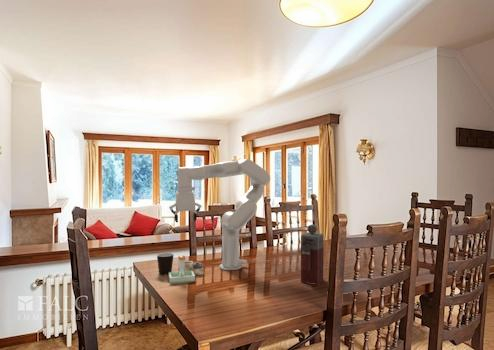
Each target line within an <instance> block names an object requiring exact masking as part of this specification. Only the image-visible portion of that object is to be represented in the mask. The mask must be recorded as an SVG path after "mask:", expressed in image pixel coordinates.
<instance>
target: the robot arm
mask: <svg viewBox="0 0 494 350" xmlns="http://www.w3.org/2000/svg"><path fill="white" fill-rule="evenodd" d="M242 175H246V176H247V177H249V182H250V184H249V185H250V186H249V189H248V190H247V191H246V192H245V193H244V194H243V195H242V197H241V198H240V199H239V200H238V201H237V202H236V203H235V211H226V212H225V213H224V214H223V215H222V216H221V219H220V220H221V221H220V225H221V238H222V239H221V241H222V243H221V251H222V252H221V258H222V259H221V264H219V266H218V267H219V269H221V270H224V271H236V270H240V269H242V267H243V264H244V265H246V264H248V260H247V259H240V232H239V231H240V230H241V229H243V227H245V225H247V223H248V222H249V221H251V219H252V218H253V217H254V215H255V214H256V213H257V211H258V205H257V203H258V202H259V201H260V199H261V198H262V197H263V194H264V191H265V190H264V189H265V188H264V187H265V186H267V185H268V184H269V183H270V182H271V176H270V174H269V172H268V171H267V170H266V169H264V168H263V167H261V166H260V165H258V163H256V162H254V161H253V160H251V159H249V158H245V159H237V160H230V161H221V162H218V163H214V164H207V165H200V166H193V167H191V166H190V167H189V166H183V167H180V166H179V167H178V168H177V191H178V192H176V195H175V203H174V204H172V205H170V206H168V209H169V210H170V212H171V213H172V214H173V215H174V221H175V222H176V223H179V215H178V214H179V213H180V212H189V211H190V212H191V211H192V212H193V214H192V218H193V222H196V221H197V218H198V217H197V216H198V213H199V212H200V211H201V208H202V205H201V204H200V203H197V202H196V201H195V193H194V192H193V191H195V189H196V187H193V181H194V180H195V181H202V180H204V179H211V178H212V179H214V178H217V179H218V178H219V179H221V178H229V177H235V176H242ZM196 206H197V209H196ZM173 208H175V210H174V209H173Z"/></svg>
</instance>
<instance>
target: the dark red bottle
mask: <svg viewBox="0 0 494 350" xmlns="http://www.w3.org/2000/svg"><path fill="white" fill-rule="evenodd" d="M317 231H318V227H317V225H315V224H310V225H308V226H307V232H305V233H303V234H301V235H300V283H302V282H309V283H315V284H319V283H320V282H321V281H322V280H323V281H324V233H321V232H317ZM323 281H322V282H323ZM322 282H321V283H322ZM321 283H320V284H321ZM320 284H319V285H320Z"/></svg>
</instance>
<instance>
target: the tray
mask: <svg viewBox="0 0 494 350" xmlns="http://www.w3.org/2000/svg"><path fill="white" fill-rule="evenodd" d="M168 282H169V285H176V284H185V283H195V282H196V275H194V273H193V271H192V270H189V271H185V276H181V277H179V270H178V271H172V272H169V275H168Z"/></svg>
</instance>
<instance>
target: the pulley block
mask: <svg viewBox="0 0 494 350" xmlns="http://www.w3.org/2000/svg"><path fill="white" fill-rule="evenodd" d="M189 270H192V271H193V273H194V275H195V276H201V275H204V267H203V263H202V262H200V261H195V262H193V260H185V271H189Z"/></svg>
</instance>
